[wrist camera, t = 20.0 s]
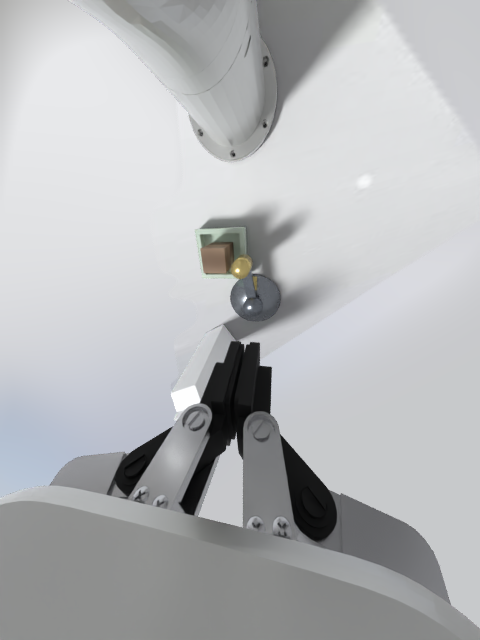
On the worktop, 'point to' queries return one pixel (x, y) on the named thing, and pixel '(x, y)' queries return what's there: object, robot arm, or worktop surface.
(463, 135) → the worktop surface
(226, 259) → the block
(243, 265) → the crank
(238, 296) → the crank base
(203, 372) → the milk
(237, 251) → the tray
